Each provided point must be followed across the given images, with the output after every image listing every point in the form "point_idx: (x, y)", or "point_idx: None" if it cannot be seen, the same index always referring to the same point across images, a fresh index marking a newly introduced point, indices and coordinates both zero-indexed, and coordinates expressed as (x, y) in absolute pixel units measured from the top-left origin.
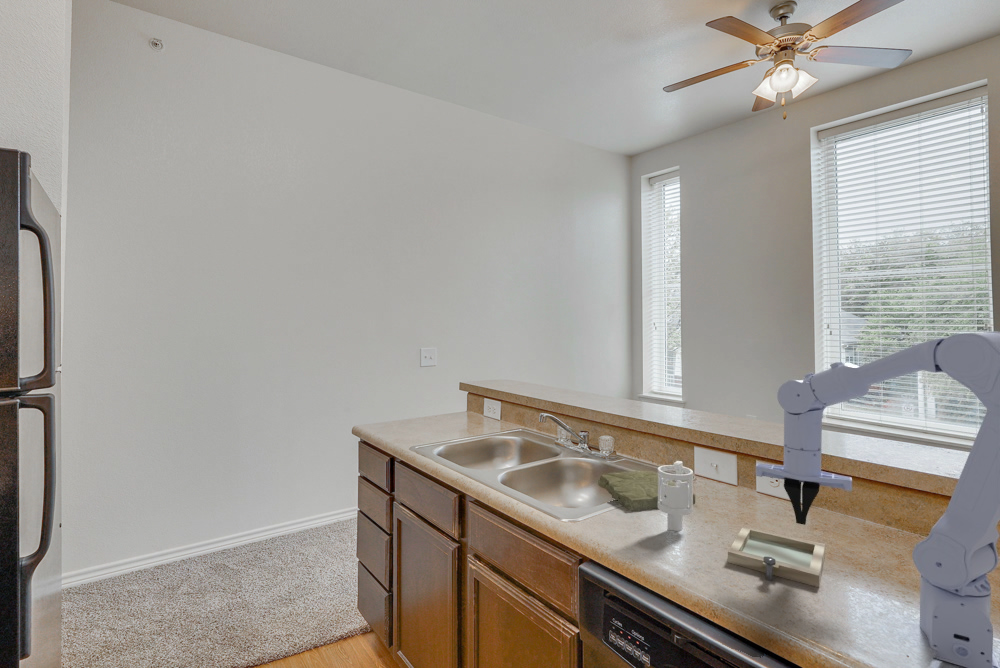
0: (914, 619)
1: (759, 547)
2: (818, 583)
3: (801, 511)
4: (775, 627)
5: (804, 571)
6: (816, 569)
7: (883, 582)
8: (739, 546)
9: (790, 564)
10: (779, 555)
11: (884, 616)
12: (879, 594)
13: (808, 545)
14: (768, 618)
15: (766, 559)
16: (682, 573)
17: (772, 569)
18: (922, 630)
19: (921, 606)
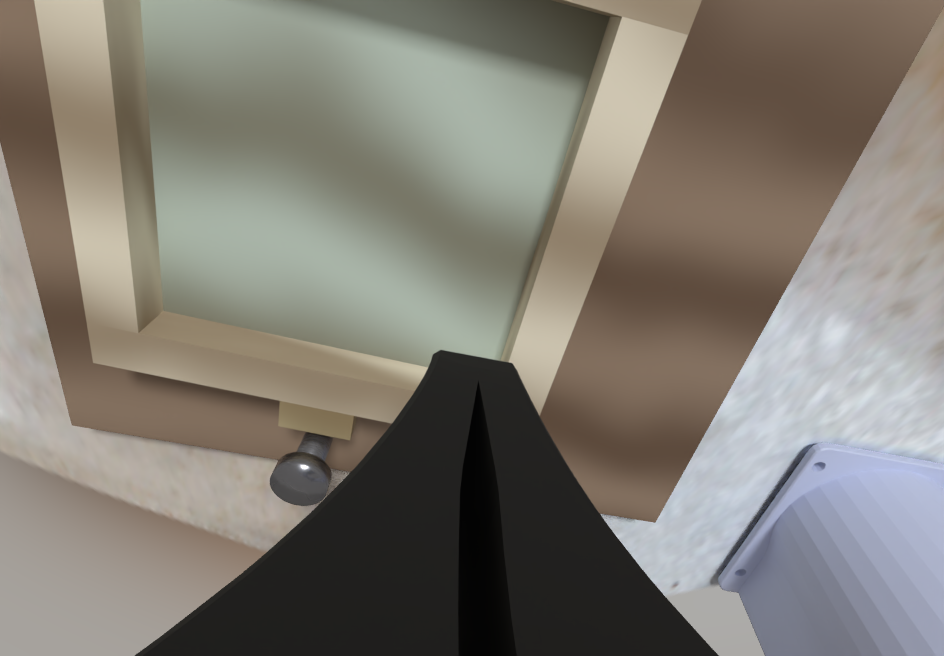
0: (823, 428)
1: (237, 103)
2: None
3: (474, 400)
4: None
5: None
6: None
7: (912, 143)
8: (124, 274)
9: (407, 390)
10: (365, 185)
11: (718, 442)
12: (800, 288)
13: (573, 3)
14: None
15: (285, 494)
16: (10, 401)
17: (326, 456)
18: (779, 547)
19: (822, 616)
